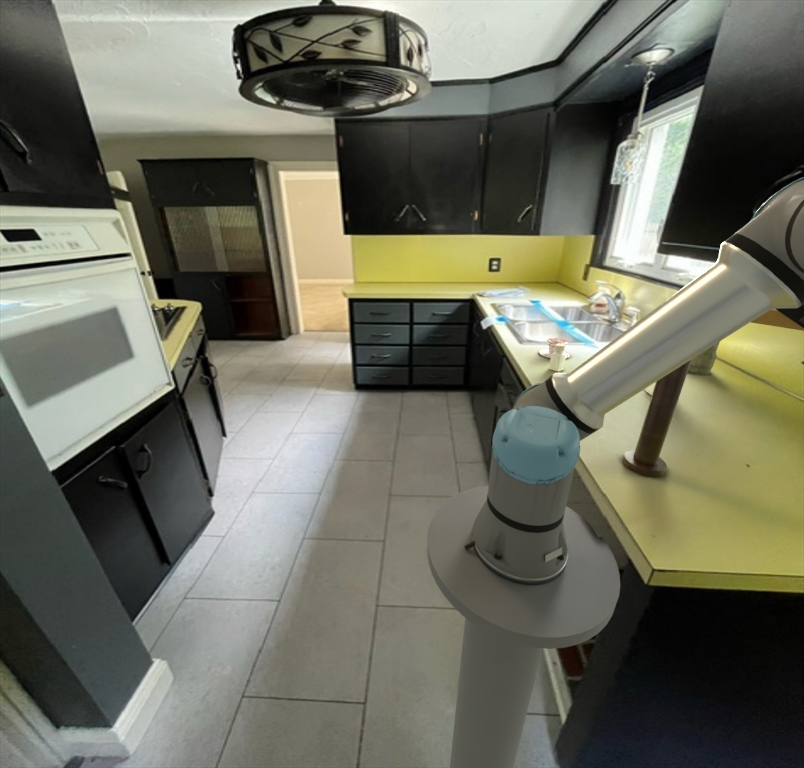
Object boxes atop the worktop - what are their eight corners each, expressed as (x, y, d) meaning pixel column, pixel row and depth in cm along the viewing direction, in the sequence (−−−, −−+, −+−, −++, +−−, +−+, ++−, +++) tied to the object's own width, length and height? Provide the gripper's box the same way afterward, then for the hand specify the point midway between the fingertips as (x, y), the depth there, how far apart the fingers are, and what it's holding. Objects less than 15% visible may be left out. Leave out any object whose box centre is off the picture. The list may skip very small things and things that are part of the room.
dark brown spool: (634, 480, 75) (677, 341, 63) (608, 452, 85) (642, 326, 73) (681, 480, 75) (734, 341, 63) (651, 452, 85) (692, 326, 73)
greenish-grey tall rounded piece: (702, 366, 137) (736, 270, 123) (716, 377, 127) (754, 274, 113) (675, 363, 140) (705, 269, 126) (686, 374, 130) (720, 273, 116)
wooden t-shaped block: (857, 341, 49) (868, 319, 48) (698, 315, 64) (703, 298, 62) (865, 335, 52) (875, 314, 51) (710, 312, 66) (715, 295, 65)
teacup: (576, 358, 146) (579, 343, 143) (550, 360, 143) (553, 345, 141) (557, 349, 156) (559, 335, 154) (533, 351, 154) (535, 337, 151)
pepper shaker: (553, 366, 137) (558, 342, 133) (563, 369, 134) (568, 345, 130) (548, 369, 134) (552, 344, 131) (557, 372, 132) (562, 347, 128)
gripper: (923, 455, 44) (745, 324, 55) (938, 421, 51) (779, 312, 62) (1017, 421, 38) (798, 283, 49) (1018, 388, 46) (828, 276, 57)
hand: (787, 300), depth 56 cm, fingers closed on wooden t-shaped block, 2 cm apart
